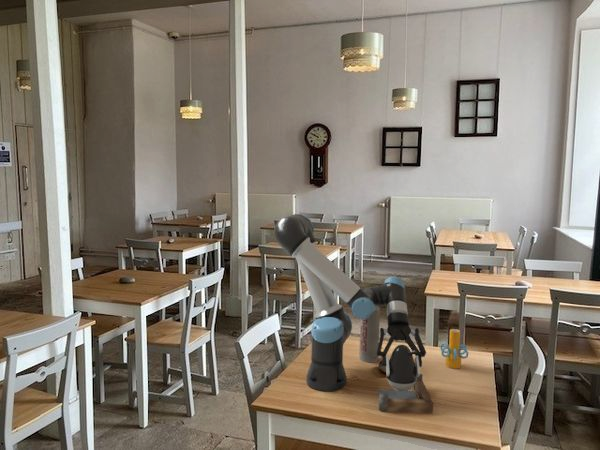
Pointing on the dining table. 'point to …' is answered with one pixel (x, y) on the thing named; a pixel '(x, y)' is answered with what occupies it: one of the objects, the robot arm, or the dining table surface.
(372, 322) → the thermos bottle
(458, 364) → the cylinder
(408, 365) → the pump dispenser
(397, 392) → the pad
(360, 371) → the dining table surface
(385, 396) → the wooden corner bracket
